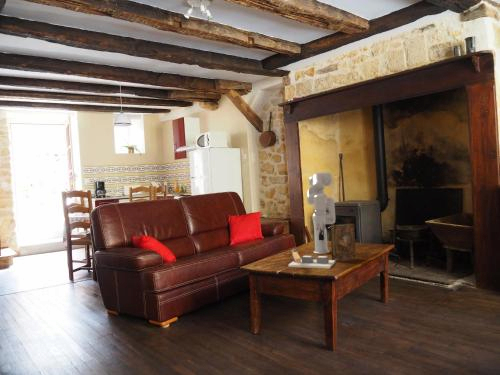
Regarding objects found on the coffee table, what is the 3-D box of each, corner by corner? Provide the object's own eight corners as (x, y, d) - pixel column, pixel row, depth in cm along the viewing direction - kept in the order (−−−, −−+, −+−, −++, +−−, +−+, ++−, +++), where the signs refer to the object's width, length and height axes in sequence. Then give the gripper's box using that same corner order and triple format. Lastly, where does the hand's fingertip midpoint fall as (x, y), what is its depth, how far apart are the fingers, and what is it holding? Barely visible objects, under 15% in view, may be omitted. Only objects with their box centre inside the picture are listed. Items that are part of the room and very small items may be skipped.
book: (353, 258, 295) (351, 223, 294) (357, 259, 289) (355, 224, 288) (331, 260, 291) (330, 225, 291) (335, 262, 286) (333, 226, 285)
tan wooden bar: (297, 255, 288) (296, 249, 288) (301, 263, 262) (301, 256, 262) (291, 255, 289) (291, 249, 288) (295, 264, 262) (295, 257, 262)
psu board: (296, 261, 296) (295, 253, 296) (335, 262, 285) (334, 254, 285) (288, 266, 279) (288, 258, 279) (329, 268, 268) (329, 259, 268)
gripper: (317, 211, 286) (318, 238, 287) (312, 214, 273) (313, 242, 273) (328, 211, 283) (329, 238, 284) (323, 214, 270) (324, 242, 270)
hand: (321, 240), depth 279 cm, fingers closed
